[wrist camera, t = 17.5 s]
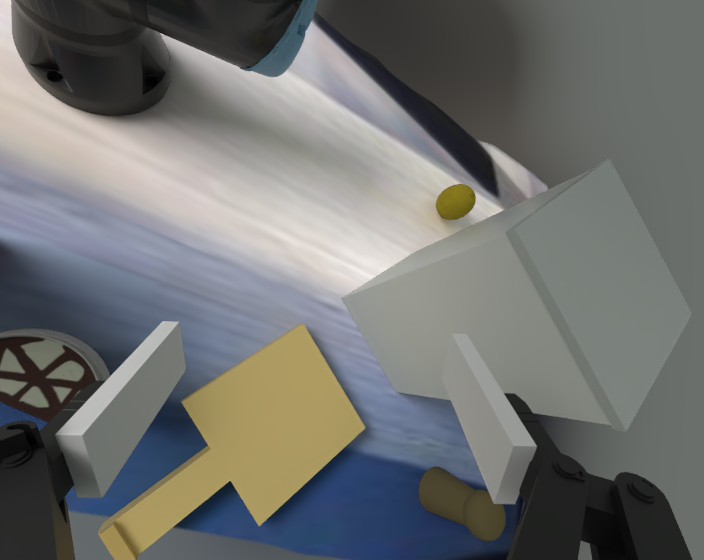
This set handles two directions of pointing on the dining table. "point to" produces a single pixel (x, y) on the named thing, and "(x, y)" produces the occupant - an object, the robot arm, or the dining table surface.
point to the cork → (461, 504)
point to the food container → (45, 370)
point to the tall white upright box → (535, 304)
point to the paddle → (247, 441)
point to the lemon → (455, 201)
